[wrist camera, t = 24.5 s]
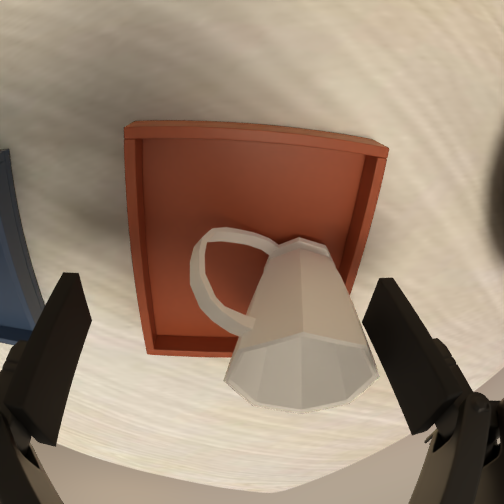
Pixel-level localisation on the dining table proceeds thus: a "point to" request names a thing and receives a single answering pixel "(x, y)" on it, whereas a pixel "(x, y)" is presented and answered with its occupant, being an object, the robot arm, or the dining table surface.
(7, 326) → the blue tray
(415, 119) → the dining table surface
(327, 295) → the cup
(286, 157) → the terracotta tray
